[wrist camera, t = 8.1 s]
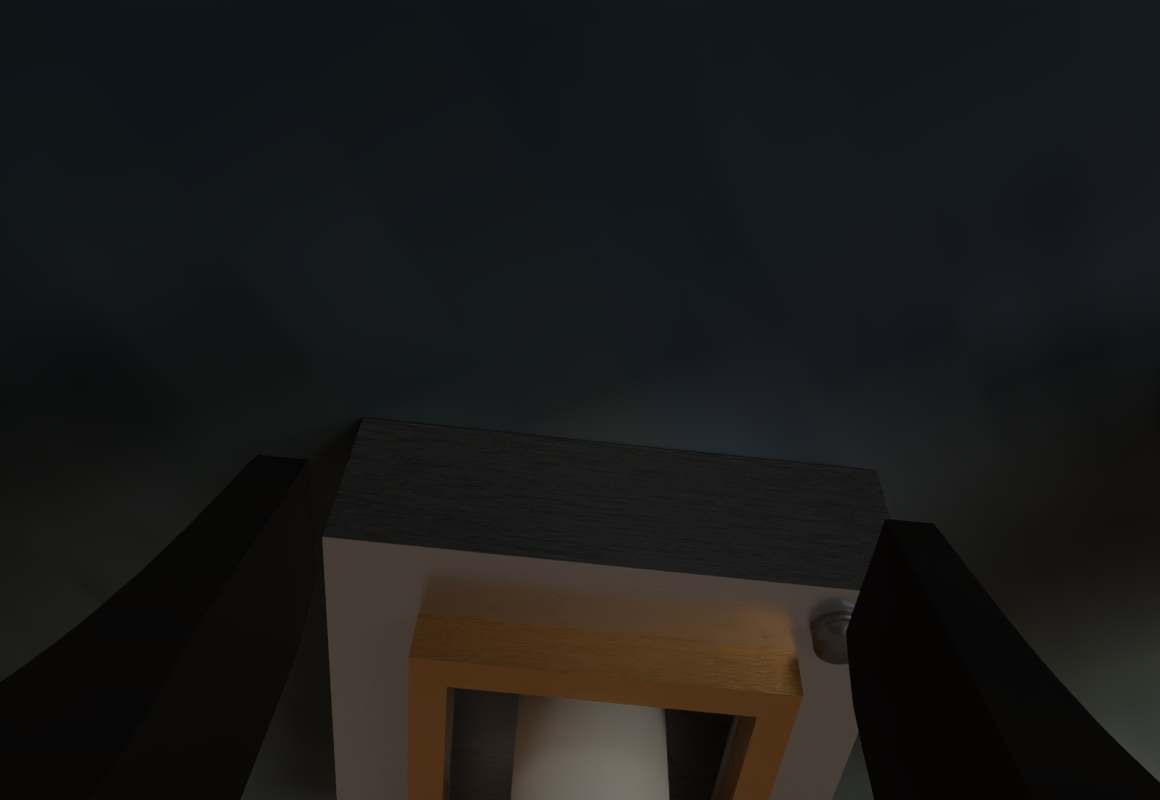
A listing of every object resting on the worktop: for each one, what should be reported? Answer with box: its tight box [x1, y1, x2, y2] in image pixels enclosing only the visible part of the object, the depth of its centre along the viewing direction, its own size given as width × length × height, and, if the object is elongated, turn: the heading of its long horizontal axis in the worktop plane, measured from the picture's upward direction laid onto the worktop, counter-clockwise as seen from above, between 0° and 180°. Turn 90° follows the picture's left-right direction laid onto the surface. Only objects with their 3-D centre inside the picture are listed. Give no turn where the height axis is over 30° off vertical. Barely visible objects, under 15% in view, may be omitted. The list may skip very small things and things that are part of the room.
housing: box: [322, 418, 890, 800], centre depth 27 cm, size 12×12×5 cm
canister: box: [511, 694, 669, 800], centre depth 26 cm, size 4×4×7 cm
